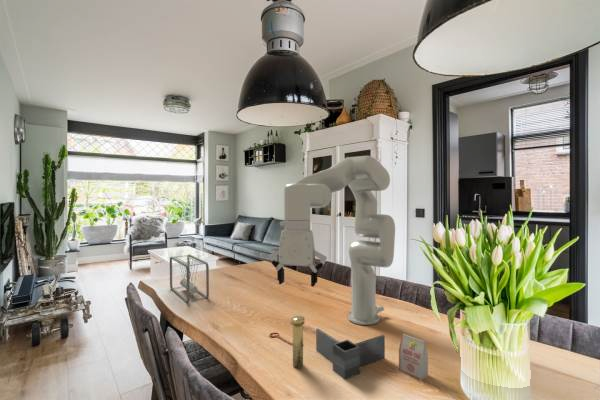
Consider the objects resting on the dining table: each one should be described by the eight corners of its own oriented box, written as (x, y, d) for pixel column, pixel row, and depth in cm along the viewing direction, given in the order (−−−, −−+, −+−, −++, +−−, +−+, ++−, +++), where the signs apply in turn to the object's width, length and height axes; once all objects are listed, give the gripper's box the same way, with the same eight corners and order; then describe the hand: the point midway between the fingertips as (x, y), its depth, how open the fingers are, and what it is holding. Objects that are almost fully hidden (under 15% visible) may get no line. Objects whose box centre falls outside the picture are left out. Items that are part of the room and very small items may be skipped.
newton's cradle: (209, 299, 152) (208, 262, 152) (187, 304, 146) (186, 265, 146) (189, 285, 176) (188, 253, 176) (169, 288, 170) (169, 255, 170)
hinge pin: (300, 360, 96) (300, 314, 95) (307, 366, 92) (307, 319, 92) (288, 364, 94) (288, 317, 93) (295, 370, 90) (295, 322, 90)
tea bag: (405, 365, 93) (405, 331, 93) (427, 375, 88) (428, 339, 88) (398, 370, 90) (399, 335, 90) (421, 380, 85) (421, 343, 85)
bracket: (352, 339, 110) (352, 317, 109) (390, 361, 95) (390, 337, 94) (310, 352, 101) (310, 328, 101) (344, 379, 86) (344, 352, 86)
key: (308, 347, 106) (279, 332, 117) (308, 344, 106) (280, 329, 117) (295, 351, 102) (267, 335, 113) (295, 348, 102) (267, 333, 113)
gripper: (264, 226, 91) (265, 285, 91) (324, 227, 86) (324, 290, 87) (273, 224, 98) (273, 279, 98) (328, 225, 94) (328, 282, 94)
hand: (297, 284), depth 92 cm, fingers open, 9 cm apart
